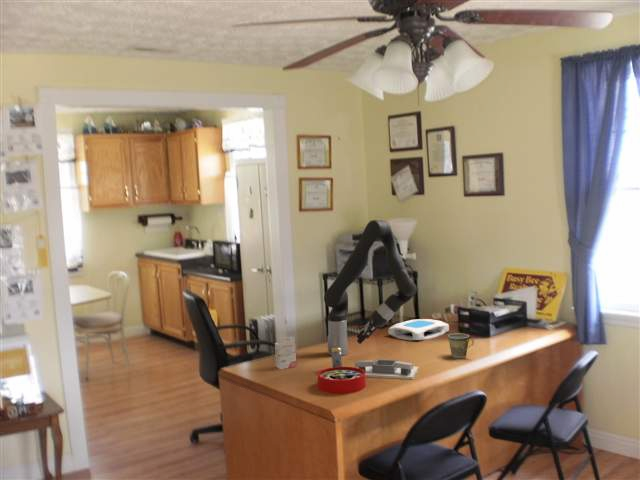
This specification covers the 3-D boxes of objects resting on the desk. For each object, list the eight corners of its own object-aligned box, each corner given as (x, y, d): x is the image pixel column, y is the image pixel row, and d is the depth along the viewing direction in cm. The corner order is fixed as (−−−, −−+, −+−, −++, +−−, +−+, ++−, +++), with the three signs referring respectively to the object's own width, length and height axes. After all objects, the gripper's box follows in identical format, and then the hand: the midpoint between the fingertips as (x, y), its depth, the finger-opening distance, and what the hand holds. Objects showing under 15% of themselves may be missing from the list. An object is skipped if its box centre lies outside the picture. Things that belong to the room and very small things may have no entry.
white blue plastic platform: (450, 333, 367) (449, 321, 366) (418, 342, 348) (417, 330, 347) (419, 328, 382) (419, 317, 382) (387, 336, 363) (387, 325, 363)
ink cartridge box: (292, 364, 314) (290, 333, 313) (296, 366, 310) (295, 335, 308) (275, 367, 310) (274, 336, 309) (279, 369, 306) (278, 338, 304)
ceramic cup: (444, 357, 317) (443, 336, 316) (455, 352, 324) (454, 332, 323) (468, 361, 308) (467, 340, 307) (479, 356, 315) (478, 335, 314)
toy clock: (316, 367, 286) (362, 365, 287) (316, 381, 287) (362, 378, 288) (318, 381, 266) (368, 378, 267) (319, 395, 267) (368, 393, 268)
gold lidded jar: (331, 370, 301) (330, 349, 300) (334, 368, 305) (333, 346, 304) (340, 371, 300) (339, 349, 299) (343, 368, 304) (342, 347, 303)
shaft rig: (351, 376, 291) (351, 363, 291) (360, 366, 306) (359, 354, 306) (412, 379, 283) (412, 366, 283) (418, 368, 298) (418, 356, 298)
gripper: (375, 306, 306) (351, 331, 308) (377, 312, 292) (352, 338, 294) (387, 317, 307) (363, 342, 308) (389, 323, 292) (364, 349, 294)
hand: (358, 340), depth 301 cm, fingers open, 8 cm apart
